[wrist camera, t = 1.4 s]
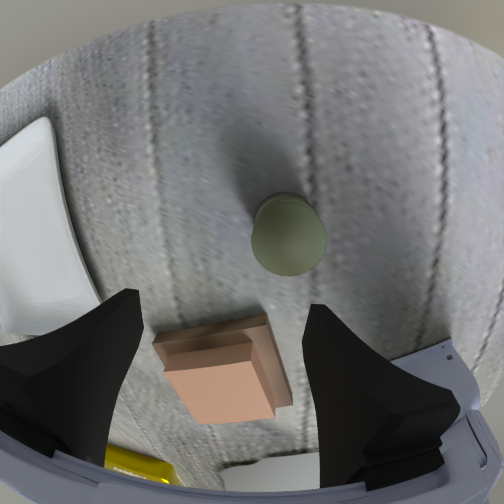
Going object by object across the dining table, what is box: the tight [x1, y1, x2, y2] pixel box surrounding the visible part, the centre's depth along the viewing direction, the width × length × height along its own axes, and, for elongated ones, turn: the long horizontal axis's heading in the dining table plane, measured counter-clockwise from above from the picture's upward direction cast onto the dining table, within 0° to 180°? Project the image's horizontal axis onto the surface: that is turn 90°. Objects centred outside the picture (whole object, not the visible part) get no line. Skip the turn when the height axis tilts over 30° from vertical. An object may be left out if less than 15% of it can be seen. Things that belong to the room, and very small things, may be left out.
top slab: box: [163, 342, 275, 424], centre depth 24 cm, size 8×8×2 cm
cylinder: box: [251, 192, 326, 276], centre depth 19 cm, size 4×4×5 cm
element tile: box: [104, 444, 180, 486], centre depth 38 cm, size 15×15×5 cm
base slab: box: [152, 313, 293, 408], centre depth 27 cm, size 11×11×2 cm
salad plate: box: [0, 116, 102, 335], centre depth 23 cm, size 21×21×3 cm
